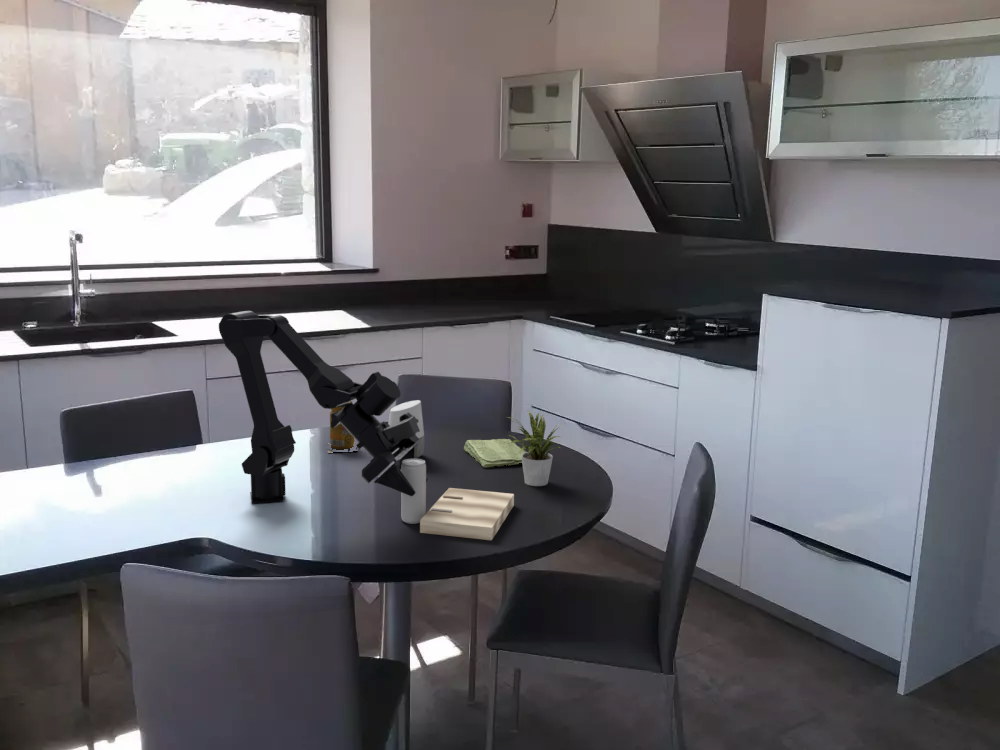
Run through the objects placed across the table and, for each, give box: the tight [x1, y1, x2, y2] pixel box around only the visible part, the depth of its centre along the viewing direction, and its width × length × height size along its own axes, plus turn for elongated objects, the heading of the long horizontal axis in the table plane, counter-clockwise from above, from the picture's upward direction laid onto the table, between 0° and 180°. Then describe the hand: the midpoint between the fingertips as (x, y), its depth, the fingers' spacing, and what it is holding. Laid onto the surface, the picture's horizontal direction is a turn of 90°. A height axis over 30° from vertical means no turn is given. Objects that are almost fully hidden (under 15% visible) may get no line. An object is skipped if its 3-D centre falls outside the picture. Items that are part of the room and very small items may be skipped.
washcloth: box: [463, 438, 527, 469], centre depth 220 cm, size 13×18×3 cm
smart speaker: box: [387, 399, 425, 459], centre depth 217 cm, size 10×9×14 cm
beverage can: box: [400, 458, 427, 525], centre depth 175 cm, size 5×5×12 cm
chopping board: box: [419, 487, 515, 541], centre depth 178 cm, size 20×14×3 cm
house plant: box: [507, 410, 566, 487], centre depth 201 cm, size 14×14×16 cm
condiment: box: [327, 400, 356, 454], centre depth 224 cm, size 7×8×12 cm
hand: (420, 488), depth 175 cm, fingers open, 8 cm apart
